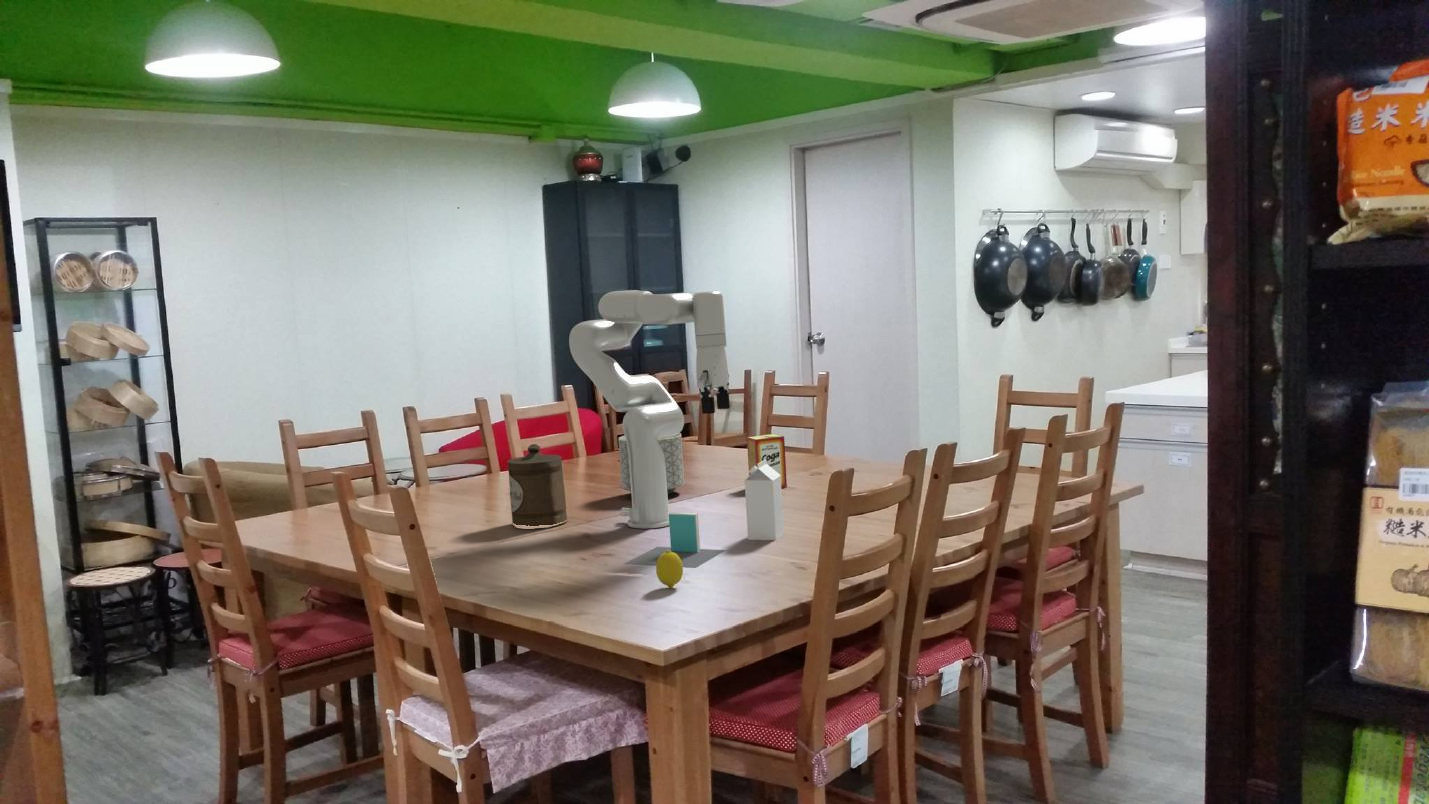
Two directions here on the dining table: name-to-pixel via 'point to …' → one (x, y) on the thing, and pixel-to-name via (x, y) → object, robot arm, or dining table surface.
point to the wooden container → (537, 489)
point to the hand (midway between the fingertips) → (716, 411)
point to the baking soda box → (768, 453)
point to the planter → (672, 462)
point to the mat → (686, 557)
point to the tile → (684, 532)
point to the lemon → (669, 568)
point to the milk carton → (764, 503)
